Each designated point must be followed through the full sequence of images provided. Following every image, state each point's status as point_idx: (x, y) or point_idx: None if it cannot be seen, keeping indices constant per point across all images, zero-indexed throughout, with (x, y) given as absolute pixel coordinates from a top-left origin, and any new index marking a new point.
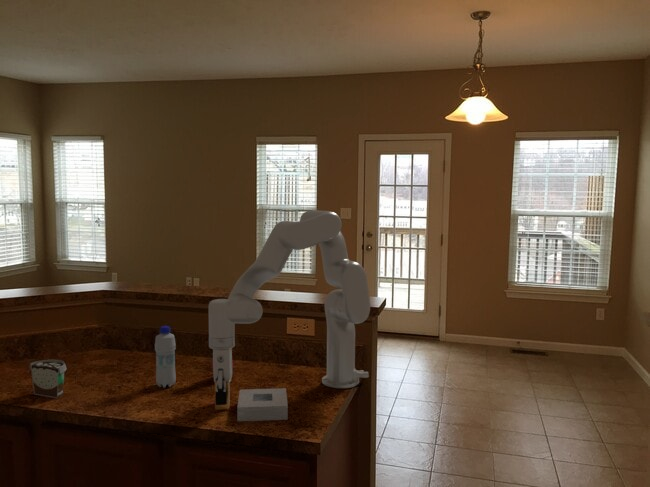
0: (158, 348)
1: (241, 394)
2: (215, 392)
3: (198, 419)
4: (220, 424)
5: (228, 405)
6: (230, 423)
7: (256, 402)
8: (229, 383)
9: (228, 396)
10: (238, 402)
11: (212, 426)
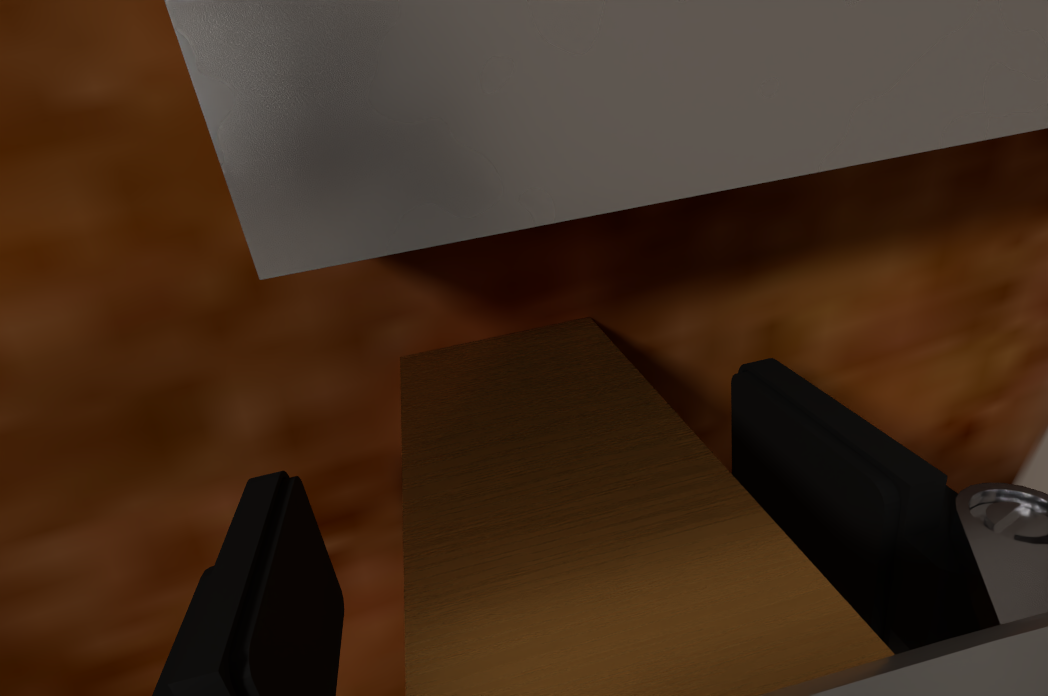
0: None
1: (589, 158)
2: (903, 644)
3: None
4: (1014, 285)
5: (608, 339)
6: (1020, 175)
7: None
8: (406, 593)
9: (663, 403)
10: (1022, 123)
11: (1038, 352)
